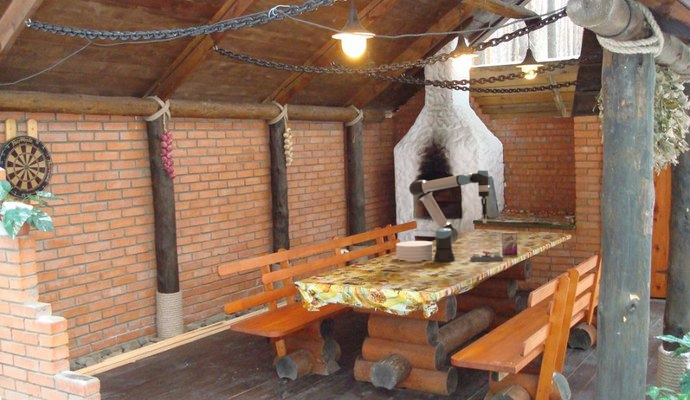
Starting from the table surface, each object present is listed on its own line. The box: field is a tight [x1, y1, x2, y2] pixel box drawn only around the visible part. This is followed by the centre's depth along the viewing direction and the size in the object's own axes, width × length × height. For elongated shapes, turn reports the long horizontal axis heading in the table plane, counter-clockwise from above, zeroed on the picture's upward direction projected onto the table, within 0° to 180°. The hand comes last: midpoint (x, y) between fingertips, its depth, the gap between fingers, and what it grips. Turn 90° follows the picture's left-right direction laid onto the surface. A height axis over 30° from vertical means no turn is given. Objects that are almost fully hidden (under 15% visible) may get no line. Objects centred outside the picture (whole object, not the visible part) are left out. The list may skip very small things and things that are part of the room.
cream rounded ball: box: [473, 252, 480, 257], centre depth 493 cm, size 4×4×4 cm
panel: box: [469, 253, 504, 262], centre depth 492 cm, size 23×8×4 cm, turn 78°
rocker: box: [482, 250, 491, 255], centre depth 492 cm, size 6×4×2 cm
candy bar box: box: [501, 231, 518, 255], centre depth 514 cm, size 11×5×16 cm, turn 74°
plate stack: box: [395, 240, 435, 262], centre depth 515 cm, size 28×28×12 cm
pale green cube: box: [493, 250, 501, 256], centre depth 490 cm, size 4×4×4 cm
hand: (484, 222), depth 497 cm, fingers closed
